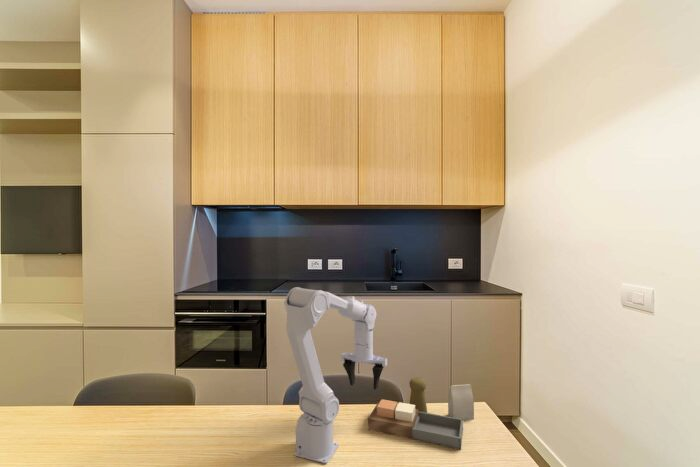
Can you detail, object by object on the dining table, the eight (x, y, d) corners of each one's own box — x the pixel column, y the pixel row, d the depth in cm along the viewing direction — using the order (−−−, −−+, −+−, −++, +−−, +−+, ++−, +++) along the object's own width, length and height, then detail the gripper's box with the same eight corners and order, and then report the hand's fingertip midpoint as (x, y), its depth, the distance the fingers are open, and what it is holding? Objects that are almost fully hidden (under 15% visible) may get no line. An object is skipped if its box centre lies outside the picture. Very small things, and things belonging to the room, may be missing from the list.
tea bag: (473, 419, 106) (473, 387, 106) (453, 421, 105) (453, 388, 105) (468, 413, 109) (467, 382, 109) (448, 414, 108) (447, 383, 108)
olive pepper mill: (427, 419, 106) (427, 383, 106) (408, 417, 107) (407, 382, 107) (427, 409, 112) (427, 375, 112) (408, 407, 113) (408, 374, 113)
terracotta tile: (377, 415, 102) (377, 406, 102) (381, 407, 107) (381, 399, 107) (393, 418, 100) (393, 409, 100) (397, 410, 105) (397, 401, 105)
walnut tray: (368, 430, 100) (368, 418, 100) (378, 413, 110) (377, 402, 110) (412, 439, 96) (412, 426, 96) (418, 421, 105) (418, 409, 105)
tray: (412, 439, 96) (412, 428, 96) (418, 421, 105) (418, 411, 105) (460, 449, 91) (460, 438, 91) (463, 429, 100) (462, 419, 100)
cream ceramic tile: (395, 418, 100) (395, 410, 100) (399, 410, 104) (399, 402, 104) (412, 421, 98) (412, 413, 98) (415, 413, 103) (415, 405, 103)
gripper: (389, 341, 107) (390, 384, 107) (346, 336, 112) (347, 377, 112) (383, 348, 100) (383, 394, 100) (338, 342, 106) (338, 386, 106)
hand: (364, 386), depth 106 cm, fingers open, 7 cm apart
